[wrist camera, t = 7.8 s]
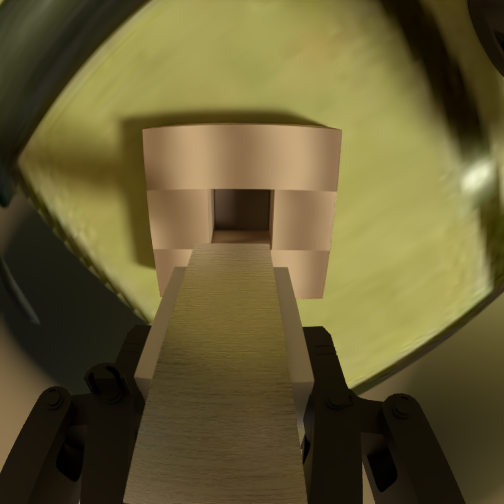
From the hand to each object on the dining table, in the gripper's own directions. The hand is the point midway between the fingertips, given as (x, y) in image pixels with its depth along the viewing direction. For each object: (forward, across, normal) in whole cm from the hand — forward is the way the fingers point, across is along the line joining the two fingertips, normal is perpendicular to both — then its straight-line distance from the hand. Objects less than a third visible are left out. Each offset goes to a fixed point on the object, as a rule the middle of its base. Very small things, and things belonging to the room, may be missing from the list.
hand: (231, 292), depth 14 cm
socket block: (+13, 0, 0) cm, 13 cm away
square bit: (+2, 0, 0) cm, 2 cm away
